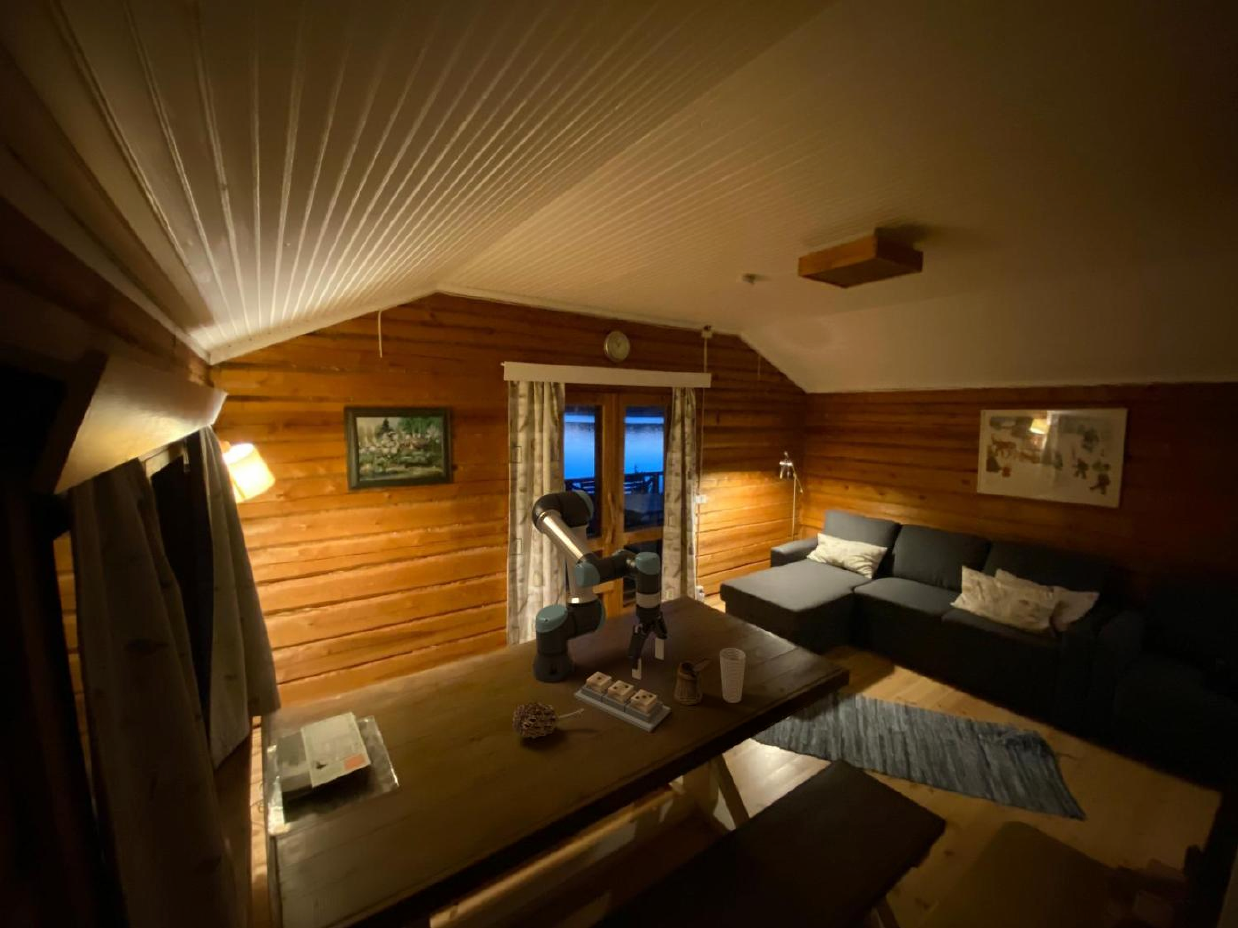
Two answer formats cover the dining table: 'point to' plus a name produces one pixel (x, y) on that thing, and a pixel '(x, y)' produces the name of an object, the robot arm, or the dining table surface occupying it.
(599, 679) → the tan square block
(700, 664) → the wooden mug
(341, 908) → the dining table surface
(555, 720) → the pine cone
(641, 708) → the tile
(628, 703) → the button board
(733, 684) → the cup
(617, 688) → the tile
